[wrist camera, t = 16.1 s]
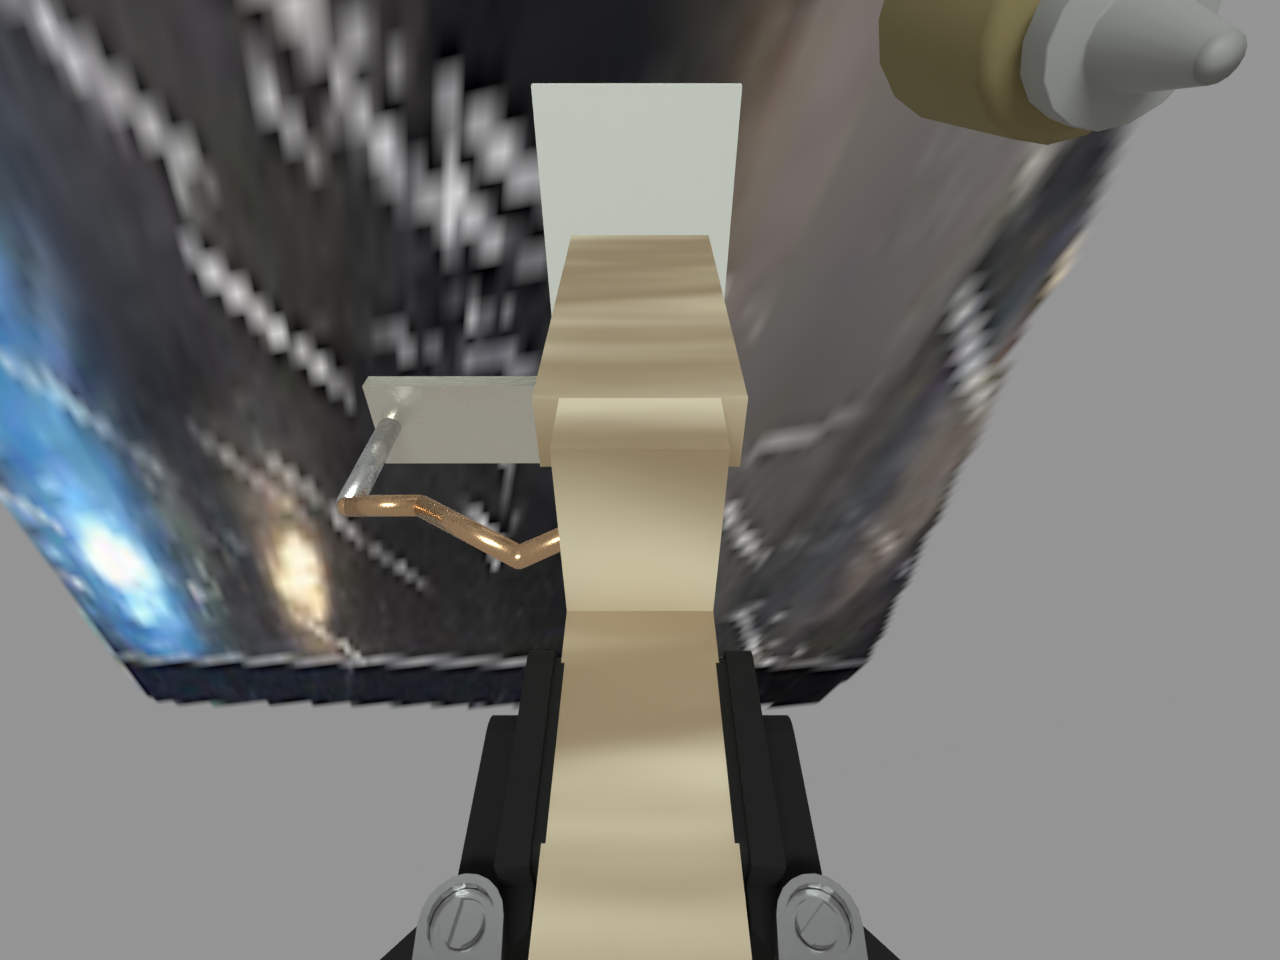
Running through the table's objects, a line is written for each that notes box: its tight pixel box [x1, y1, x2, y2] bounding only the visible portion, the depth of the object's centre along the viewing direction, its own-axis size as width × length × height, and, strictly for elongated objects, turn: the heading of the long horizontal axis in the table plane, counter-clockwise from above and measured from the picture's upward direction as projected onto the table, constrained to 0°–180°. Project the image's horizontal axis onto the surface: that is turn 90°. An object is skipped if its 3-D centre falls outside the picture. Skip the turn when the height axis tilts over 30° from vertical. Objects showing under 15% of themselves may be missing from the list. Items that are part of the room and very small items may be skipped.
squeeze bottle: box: [879, 0, 1247, 145], centre depth 23 cm, size 8×8×18 cm
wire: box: [335, 376, 561, 569], centre depth 38 cm, size 6×22×14 cm, turn 90°
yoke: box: [528, 235, 752, 960], centre depth 16 cm, size 11×4×17 cm, turn 0°
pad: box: [531, 83, 742, 315], centre depth 36 cm, size 14×10×1 cm
